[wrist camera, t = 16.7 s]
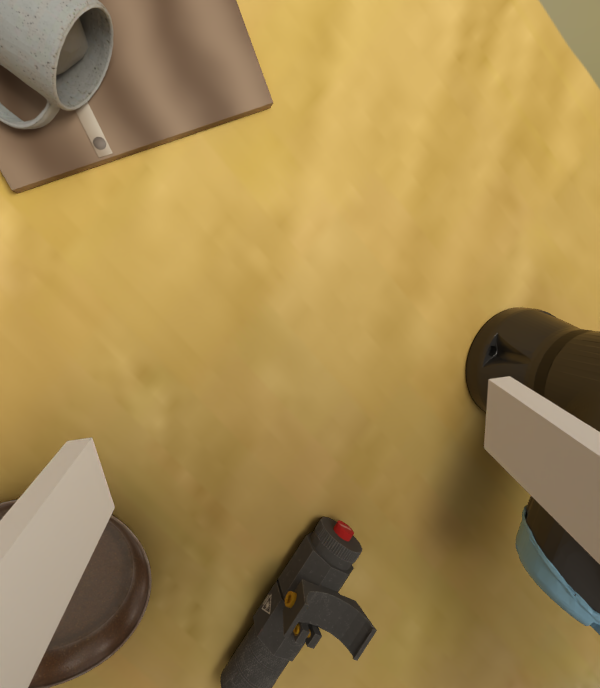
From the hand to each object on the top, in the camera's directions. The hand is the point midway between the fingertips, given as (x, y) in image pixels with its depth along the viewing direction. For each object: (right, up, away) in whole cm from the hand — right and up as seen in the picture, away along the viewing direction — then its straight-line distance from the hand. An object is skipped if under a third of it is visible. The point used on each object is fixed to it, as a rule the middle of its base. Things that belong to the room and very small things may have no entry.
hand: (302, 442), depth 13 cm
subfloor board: (-17, +29, +20) cm, 39 cm away
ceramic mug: (-21, +25, +18) cm, 37 cm away
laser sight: (-2, -27, +35) cm, 45 cm away
